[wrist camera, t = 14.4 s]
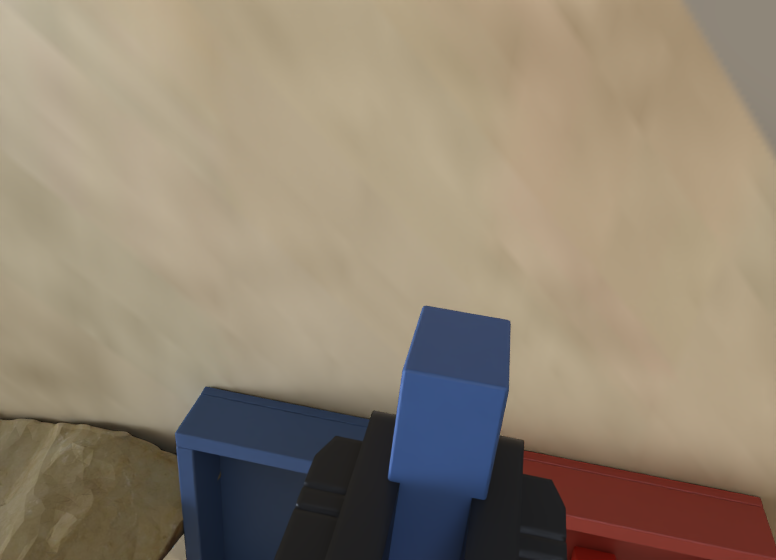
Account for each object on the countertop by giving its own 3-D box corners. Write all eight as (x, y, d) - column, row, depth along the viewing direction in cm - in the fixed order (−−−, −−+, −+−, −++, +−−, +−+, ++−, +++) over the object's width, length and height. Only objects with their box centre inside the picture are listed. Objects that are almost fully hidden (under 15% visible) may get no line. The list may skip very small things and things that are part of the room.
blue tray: (205, 385, 24) (174, 432, 22) (459, 436, 23) (450, 491, 21) (216, 576, 30) (191, 628, 28) (424, 625, 29) (414, 683, 27)
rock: (-129, 498, 28) (56, 670, 28) (-325, 571, 20) (-59, 816, 20) (72, 300, 29) (248, 466, 30) (-31, 288, 21) (217, 521, 21)
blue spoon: (367, 293, 11) (335, 356, 9) (569, 328, 11) (580, 402, 9) (327, 654, 14) (296, 759, 12) (484, 691, 14) (478, 806, 12)
